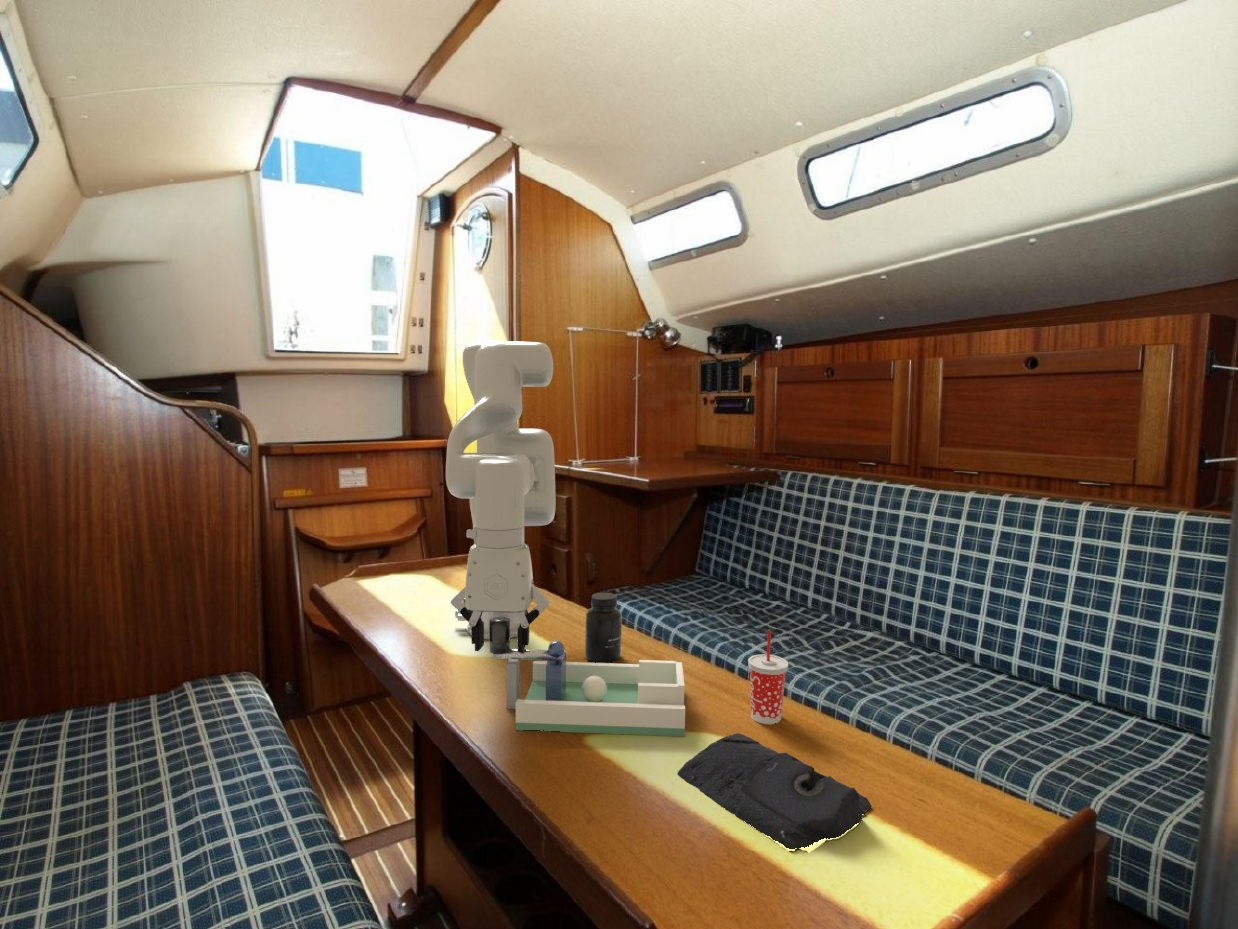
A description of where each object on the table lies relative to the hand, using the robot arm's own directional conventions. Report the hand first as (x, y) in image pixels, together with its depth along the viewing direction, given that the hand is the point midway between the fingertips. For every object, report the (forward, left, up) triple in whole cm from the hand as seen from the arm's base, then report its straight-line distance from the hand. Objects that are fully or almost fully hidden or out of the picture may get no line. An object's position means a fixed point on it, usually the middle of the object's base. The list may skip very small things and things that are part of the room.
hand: (500, 647), depth 108 cm
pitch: (+15, 0, -9) cm, 18 cm away
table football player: (+4, 0, -8) cm, 9 cm away
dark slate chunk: (+39, -21, -10) cm, 46 cm away
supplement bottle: (+15, +21, -10) cm, 28 cm away
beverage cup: (+42, -1, -10) cm, 43 cm away
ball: (+15, 0, -6) cm, 16 cm away
